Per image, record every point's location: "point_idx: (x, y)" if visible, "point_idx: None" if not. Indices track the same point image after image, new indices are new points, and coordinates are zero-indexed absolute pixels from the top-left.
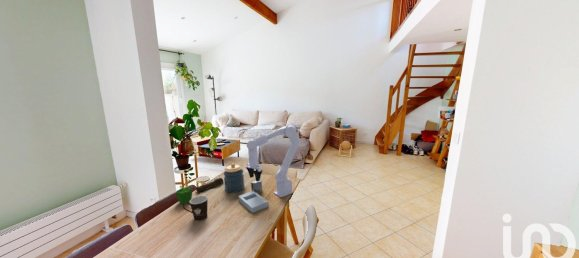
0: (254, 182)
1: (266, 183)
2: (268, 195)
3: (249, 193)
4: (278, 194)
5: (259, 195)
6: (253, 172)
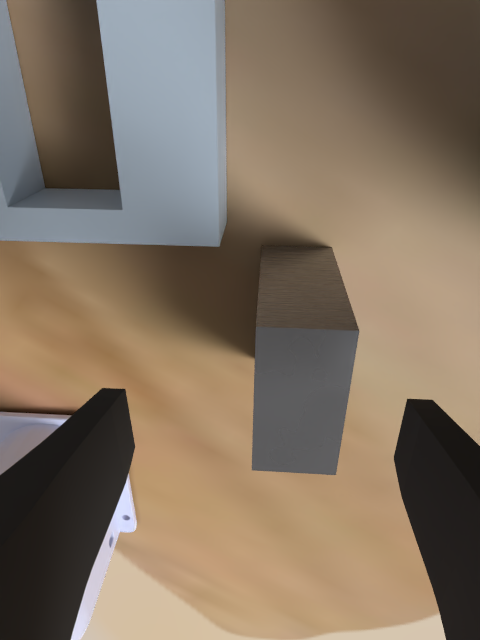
0: (285, 366)
1: (387, 480)
2: (103, 351)
3: (170, 143)
4: (32, 426)
5: (11, 237)
6: (434, 574)
